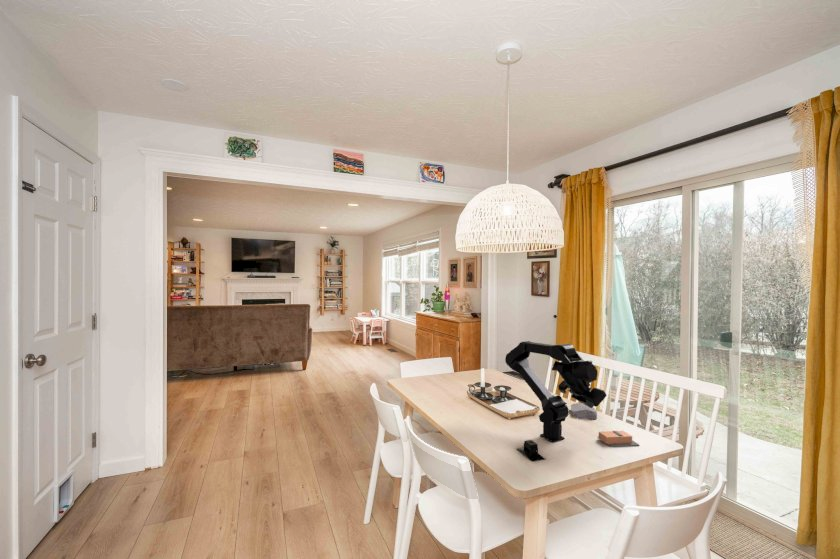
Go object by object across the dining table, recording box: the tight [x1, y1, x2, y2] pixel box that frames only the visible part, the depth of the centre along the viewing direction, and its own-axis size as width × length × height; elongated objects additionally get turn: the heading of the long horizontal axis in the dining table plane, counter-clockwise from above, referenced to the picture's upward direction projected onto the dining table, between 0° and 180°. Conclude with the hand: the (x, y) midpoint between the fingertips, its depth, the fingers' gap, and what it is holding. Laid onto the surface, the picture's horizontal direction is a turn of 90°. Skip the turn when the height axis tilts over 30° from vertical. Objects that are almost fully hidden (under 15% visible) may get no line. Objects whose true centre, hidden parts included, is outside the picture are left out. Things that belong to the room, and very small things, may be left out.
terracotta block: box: [598, 430, 633, 445], centre depth 139 cm, size 3×5×10 cm
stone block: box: [570, 402, 598, 420], centre depth 167 cm, size 12×5×10 cm
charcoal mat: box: [597, 435, 640, 448], centre depth 139 cm, size 11×8×1 cm
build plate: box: [516, 439, 546, 463], centre depth 128 cm, size 12×7×5 cm, turn 17°
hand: (591, 407), depth 140 cm, fingers closed
